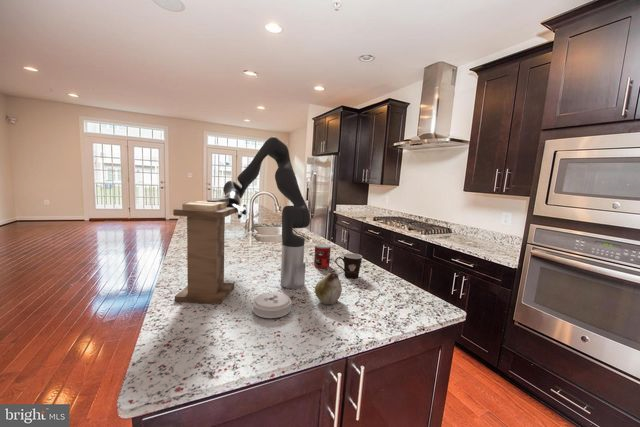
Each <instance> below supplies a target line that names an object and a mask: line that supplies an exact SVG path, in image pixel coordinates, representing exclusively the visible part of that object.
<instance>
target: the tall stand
mask: <svg viewBox="0 0 640 427" xmlns="http://www.w3.org/2000/svg"><path fill="white" fill-rule="evenodd" d="M172 214H173V216H174V217H179V216H180V217H186V242H187V243H186V247H187V248H186V249H187V250H186V252H187V253H186V255H187V256H186V257H187V258H186V259H187V260H186V261H187V264H186V265H187V274H186V275H187V278H186V279H187V286H185V287H184V288H183V289H182V290H181V291H179V293H177V294H176V295H174V302H175V303H188V304H204V305H205V304H206V305H207V304H209V305H222V304H223V303H224V302H225V300H226V299H227V297H229V295H230V294H231V293H232V291H233V290H234V289H235V283H234V282H225V229H226V228H225V221H226V220H225V218H226V217H228V216H231V215H234V214H235V208H231V207H227V208H224V209H220V210H217V211H214V212H207V211H190V210H182V207H180V208H175V209H173V210H172ZM223 301H224V302H223Z"/></svg>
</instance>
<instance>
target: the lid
mask: <svg viewBox="0 0 640 427" xmlns="http://www.w3.org/2000/svg"><path fill="white" fill-rule="evenodd" d="M291 304H292V299H291V298H290V296H288V295H287V294H285V293H282V292H279V291H278V292H277V291H269V292H263V293H260V294H259V295H257V296H256V297H255V298H253V301H252V305H253V306H252V312H253V314H254V315H256V316H258V317H260V318H263V319H264V318H265V319H278V318H282V317H284V316H286V315H288V314H289V313H290V312H291V309H292V307H291Z"/></svg>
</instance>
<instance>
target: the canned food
mask: <svg viewBox="0 0 640 427" xmlns="http://www.w3.org/2000/svg"><path fill="white" fill-rule="evenodd" d="M331 249H332V248H331V244H327V243H316V244H314V256H313V257H314V259H313V260H314V261H313V265H314V267H315V268H318V269H327V268H329V267H330V263H331V262H330V259H331Z"/></svg>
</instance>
